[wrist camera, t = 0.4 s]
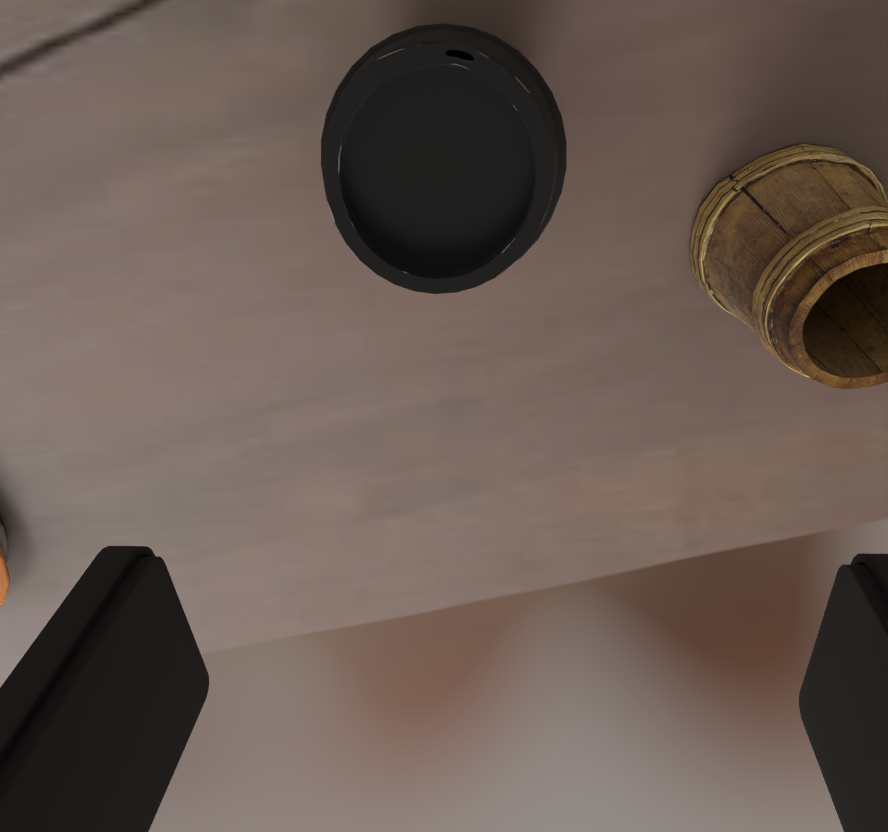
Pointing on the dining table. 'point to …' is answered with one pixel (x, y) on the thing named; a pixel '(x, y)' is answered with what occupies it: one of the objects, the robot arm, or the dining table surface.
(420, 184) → the coffee cup
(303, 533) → the dining table surface
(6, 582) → the pie
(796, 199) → the wooden mug
